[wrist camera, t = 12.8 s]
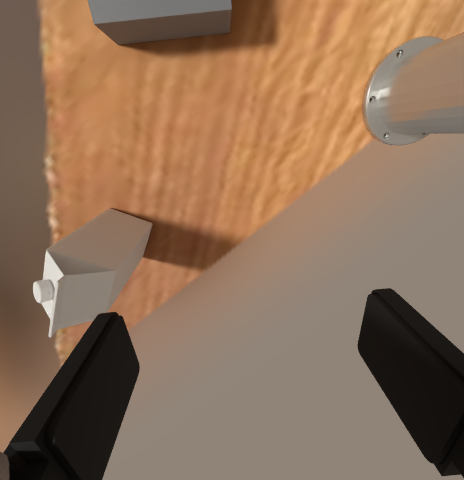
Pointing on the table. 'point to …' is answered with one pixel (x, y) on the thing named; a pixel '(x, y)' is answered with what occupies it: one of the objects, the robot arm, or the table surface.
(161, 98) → the table surface
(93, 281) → the milk carton
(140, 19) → the socket block
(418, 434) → the robot arm
